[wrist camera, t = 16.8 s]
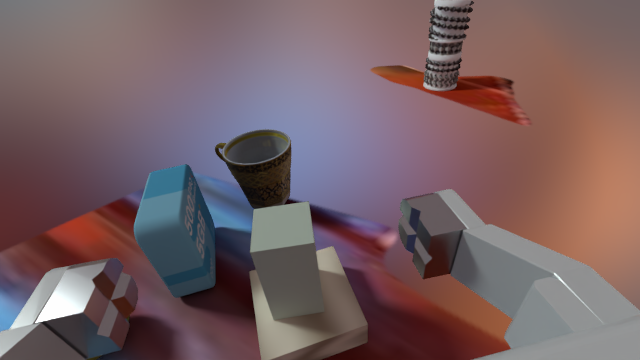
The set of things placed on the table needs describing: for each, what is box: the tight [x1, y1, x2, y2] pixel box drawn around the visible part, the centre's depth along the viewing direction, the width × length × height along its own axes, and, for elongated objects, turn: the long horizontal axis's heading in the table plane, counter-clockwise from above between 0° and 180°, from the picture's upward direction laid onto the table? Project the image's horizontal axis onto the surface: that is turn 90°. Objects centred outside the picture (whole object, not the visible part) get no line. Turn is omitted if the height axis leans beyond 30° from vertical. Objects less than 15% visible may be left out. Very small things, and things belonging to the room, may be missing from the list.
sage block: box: [250, 201, 325, 320], centre depth 28 cm, size 5×5×10 cm
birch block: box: [249, 246, 368, 360], centre depth 32 cm, size 10×10×4 cm
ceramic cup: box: [215, 129, 291, 209], centre depth 47 cm, size 13×10×10 cm
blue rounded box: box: [134, 164, 216, 298], centre depth 37 cm, size 12×4×12 cm, turn 16°
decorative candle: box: [424, 0, 474, 91], centre depth 74 cm, size 9×9×25 cm
